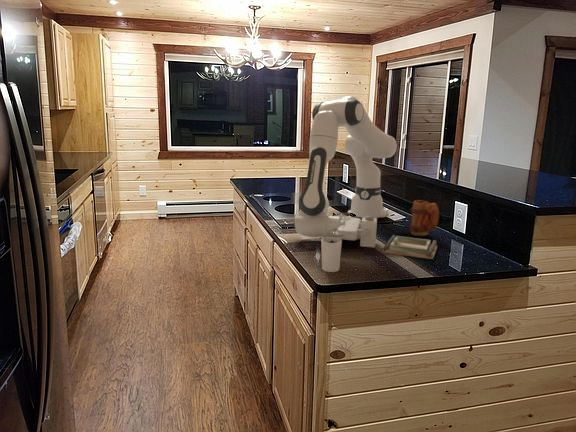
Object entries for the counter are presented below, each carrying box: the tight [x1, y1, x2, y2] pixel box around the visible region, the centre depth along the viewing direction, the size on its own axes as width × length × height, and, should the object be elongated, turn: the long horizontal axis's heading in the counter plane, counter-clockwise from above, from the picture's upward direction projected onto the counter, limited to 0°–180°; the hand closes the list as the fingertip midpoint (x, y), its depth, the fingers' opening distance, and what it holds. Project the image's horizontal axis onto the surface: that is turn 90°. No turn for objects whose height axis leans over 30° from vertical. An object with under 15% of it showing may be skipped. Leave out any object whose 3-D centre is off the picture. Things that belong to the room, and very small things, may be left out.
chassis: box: [381, 234, 438, 260], centre depth 174 cm, size 17×18×3 cm
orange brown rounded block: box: [408, 199, 440, 237], centre depth 189 cm, size 15×8×15 cm, turn 22°
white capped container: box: [359, 216, 378, 248], centre depth 179 cm, size 6×6×11 cm
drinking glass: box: [320, 237, 343, 273], centre depth 153 cm, size 7×7×10 cm
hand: (371, 229), depth 179 cm, fingers closed on white capped container, 5 cm apart
